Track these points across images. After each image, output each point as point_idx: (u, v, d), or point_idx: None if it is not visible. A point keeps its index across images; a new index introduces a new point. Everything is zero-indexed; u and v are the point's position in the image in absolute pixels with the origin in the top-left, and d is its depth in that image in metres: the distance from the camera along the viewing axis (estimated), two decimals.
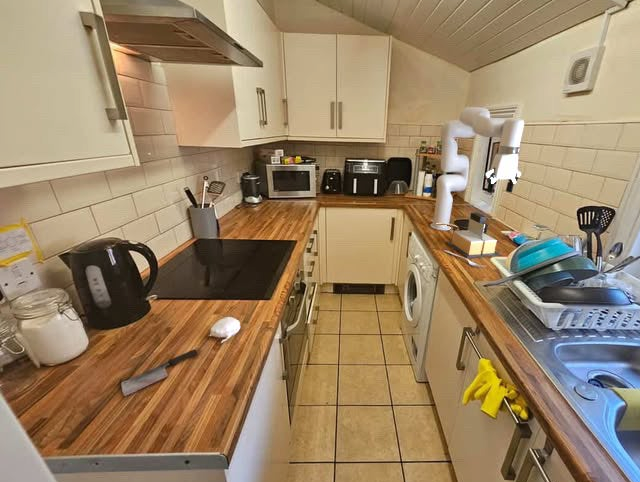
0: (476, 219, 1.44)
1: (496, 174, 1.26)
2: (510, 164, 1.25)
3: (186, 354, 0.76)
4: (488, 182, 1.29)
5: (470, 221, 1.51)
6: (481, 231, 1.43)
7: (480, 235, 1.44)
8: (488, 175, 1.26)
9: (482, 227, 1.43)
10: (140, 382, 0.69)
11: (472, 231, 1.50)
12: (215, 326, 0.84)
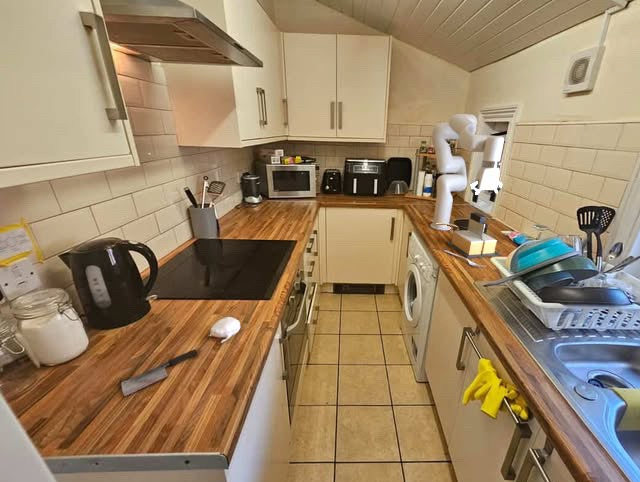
0: (476, 219, 1.44)
1: (480, 186, 1.38)
2: (492, 177, 1.37)
3: (186, 354, 0.76)
4: (473, 193, 1.41)
5: (470, 221, 1.51)
6: (481, 231, 1.43)
7: (480, 235, 1.44)
8: (472, 187, 1.39)
9: (482, 227, 1.43)
10: (140, 382, 0.69)
11: (472, 231, 1.50)
12: (215, 326, 0.84)
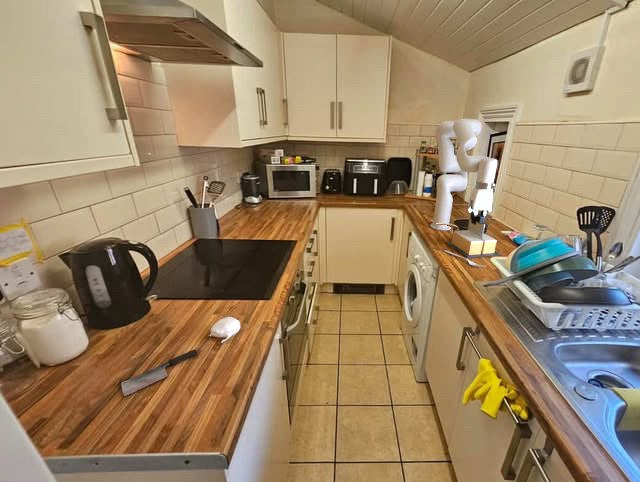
0: None
1: (473, 206, 1.40)
2: (486, 197, 1.39)
3: (186, 354, 0.76)
4: (472, 215, 1.45)
5: (470, 221, 1.51)
6: (481, 231, 1.43)
7: (480, 235, 1.44)
8: (470, 210, 1.42)
9: (482, 227, 1.43)
10: (140, 382, 0.69)
11: (472, 231, 1.50)
12: (215, 326, 0.84)
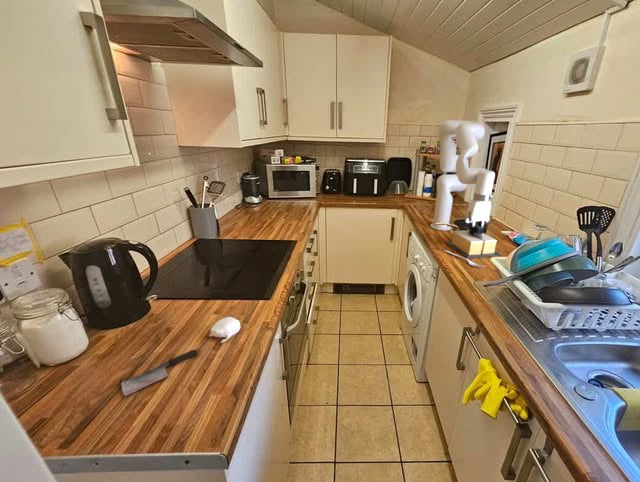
0: None
1: (471, 217, 1.43)
2: (483, 209, 1.42)
3: (186, 354, 0.76)
4: (470, 226, 1.47)
5: (468, 231, 1.54)
6: None
7: None
8: (468, 221, 1.45)
9: (480, 238, 1.45)
10: (140, 382, 0.69)
11: None
12: (215, 326, 0.84)
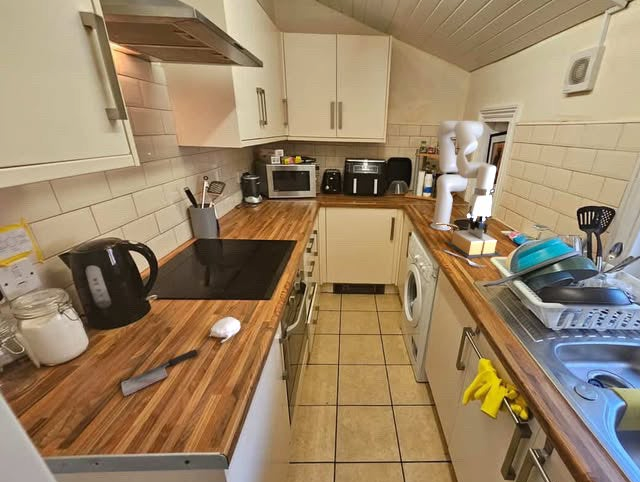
0: None
1: (472, 212, 1.42)
2: (484, 203, 1.41)
3: (186, 354, 0.76)
4: (471, 220, 1.46)
5: (469, 226, 1.53)
6: (480, 237, 1.45)
7: None
8: (469, 216, 1.44)
9: (481, 233, 1.44)
10: (140, 382, 0.69)
11: None
12: (215, 326, 0.84)
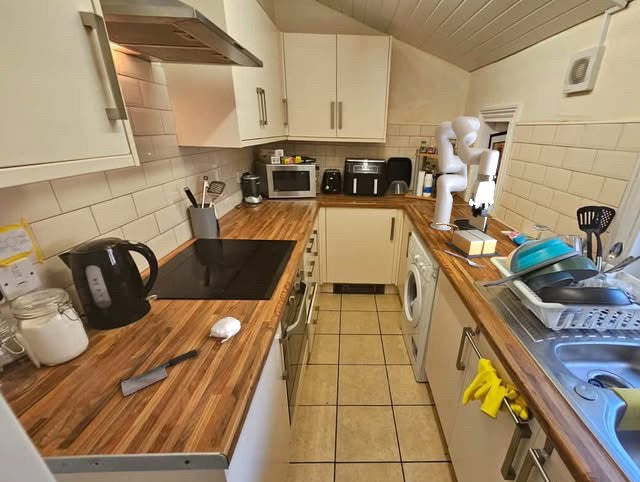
0: None
1: (475, 199, 1.39)
2: (487, 190, 1.38)
3: (186, 354, 0.76)
4: (473, 208, 1.44)
5: (471, 214, 1.50)
6: (482, 224, 1.42)
7: (481, 228, 1.43)
8: (471, 203, 1.41)
9: (483, 220, 1.41)
10: (140, 382, 0.69)
11: (473, 224, 1.49)
12: (215, 326, 0.84)
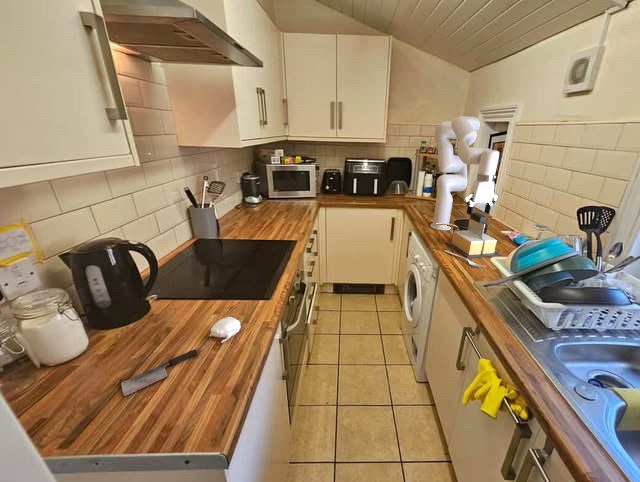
0: (476, 219, 1.44)
1: (474, 199, 1.39)
2: (487, 190, 1.38)
3: (186, 354, 0.76)
4: None
5: (470, 221, 1.51)
6: (481, 231, 1.43)
7: (480, 235, 1.44)
8: (467, 199, 1.40)
9: (482, 227, 1.43)
10: (140, 382, 0.69)
11: (472, 231, 1.50)
12: (215, 326, 0.84)
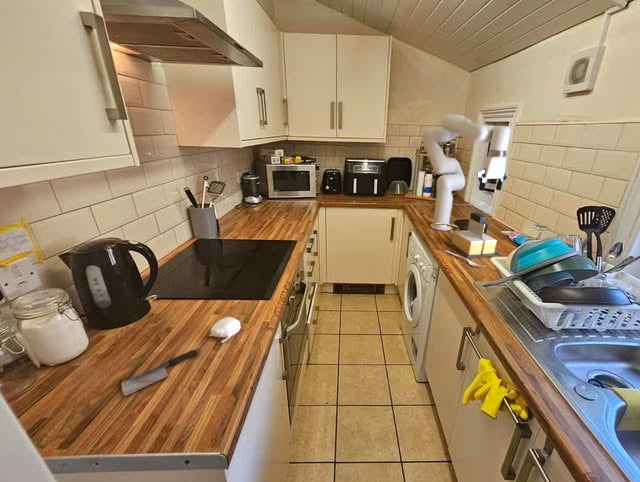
0: (476, 219, 1.44)
1: (486, 174, 1.43)
2: (499, 165, 1.42)
3: (186, 354, 0.76)
4: (480, 181, 1.47)
5: (470, 221, 1.51)
6: (481, 231, 1.43)
7: (480, 235, 1.44)
8: (479, 175, 1.44)
9: (482, 227, 1.43)
10: (140, 382, 0.69)
11: (472, 231, 1.50)
12: (215, 326, 0.84)
